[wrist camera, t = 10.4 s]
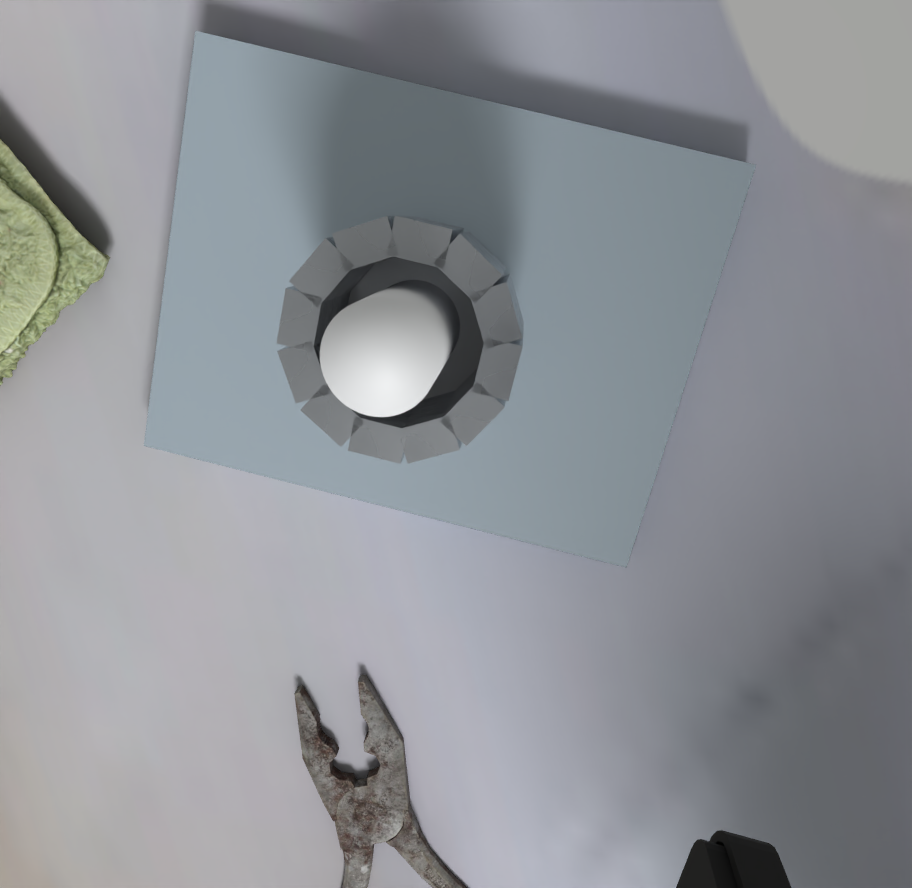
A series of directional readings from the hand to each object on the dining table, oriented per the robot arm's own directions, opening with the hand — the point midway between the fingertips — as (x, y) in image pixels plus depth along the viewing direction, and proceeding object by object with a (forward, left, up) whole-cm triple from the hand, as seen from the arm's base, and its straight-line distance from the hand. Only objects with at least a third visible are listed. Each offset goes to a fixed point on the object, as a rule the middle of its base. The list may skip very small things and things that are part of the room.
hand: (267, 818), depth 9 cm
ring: (+1, -3, -17) cm, 17 cm away
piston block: (+1, -3, -21) cm, 21 cm away
